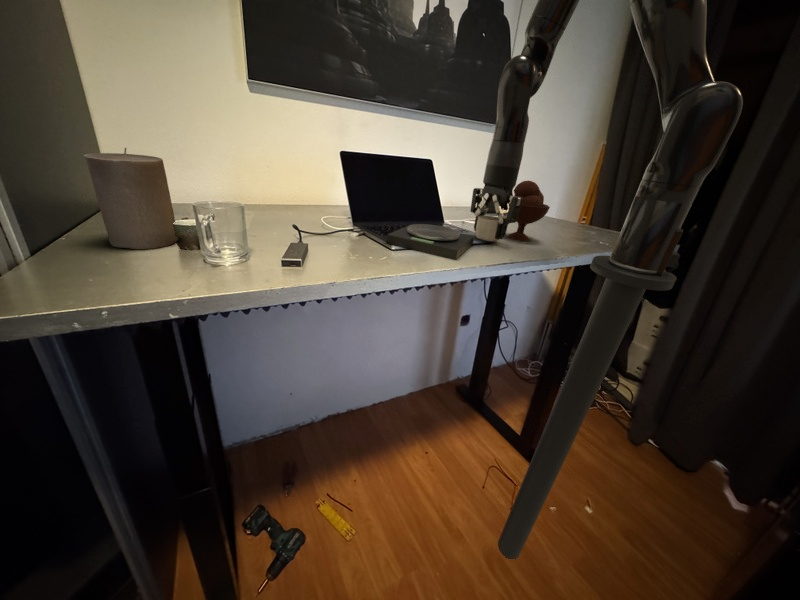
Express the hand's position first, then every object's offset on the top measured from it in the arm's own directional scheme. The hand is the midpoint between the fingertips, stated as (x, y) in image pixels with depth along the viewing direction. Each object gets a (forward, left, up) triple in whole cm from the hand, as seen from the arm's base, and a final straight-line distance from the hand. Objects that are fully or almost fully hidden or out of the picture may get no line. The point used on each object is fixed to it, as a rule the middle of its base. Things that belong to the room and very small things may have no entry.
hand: (488, 234), depth 82 cm
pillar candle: (+50, +51, -2) cm, 72 cm away
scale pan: (+10, +13, +1) cm, 17 cm away
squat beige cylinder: (0, 0, -1) cm, 1 cm away
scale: (+10, +13, -2) cm, 17 cm away
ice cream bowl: (-7, -11, -2) cm, 13 cm away
